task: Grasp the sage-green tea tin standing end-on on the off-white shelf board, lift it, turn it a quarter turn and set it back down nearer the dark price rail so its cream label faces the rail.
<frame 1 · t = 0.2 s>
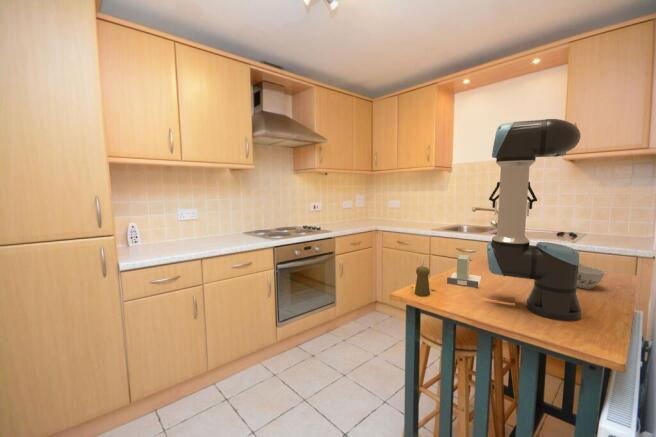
hand: (511, 215, 149), 28 cm above the table, fingers open, 13 cm apart
teacup: (582, 286, 129), on the table
tea tin: (462, 278, 136), point 1 cm above the table, touching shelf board
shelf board: (464, 282, 135), on the table
olive tapered upright piece: (422, 294, 122), on the table
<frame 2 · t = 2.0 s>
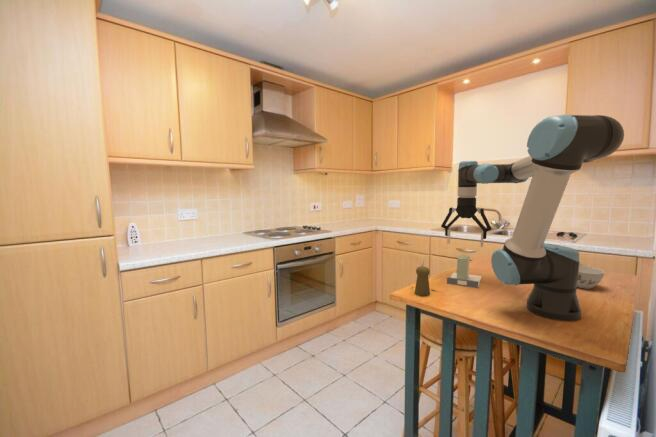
hand: (464, 244, 135), 17 cm above the table, fingers open, 13 cm apart
nothing on the table moved.
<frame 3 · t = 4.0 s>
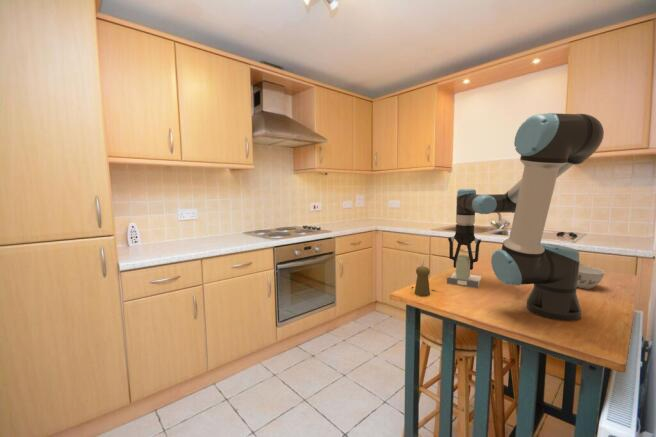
hand: (462, 275, 136), 3 cm above the table, fingers closed on tea tin, 4 cm apart
tea tin: (462, 278, 136), point 1 cm above the table, touching gripper, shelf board
everything else where it was.
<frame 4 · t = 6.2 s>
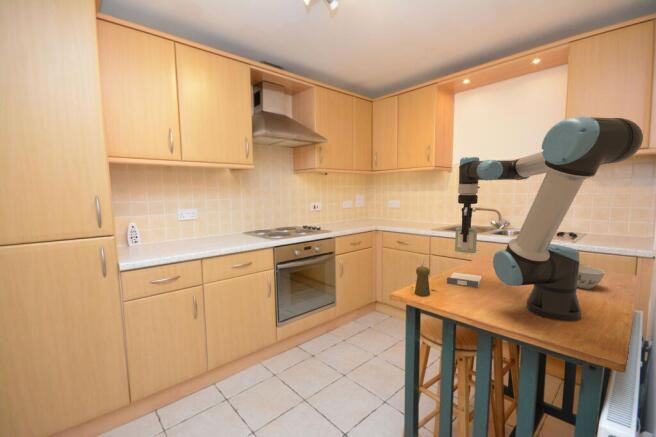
hand: (465, 248, 131), 16 cm above the table, fingers closed on tea tin, 4 cm apart
tea tin: (465, 251, 131), point 15 cm above the table, touching gripper
everything else where it was.
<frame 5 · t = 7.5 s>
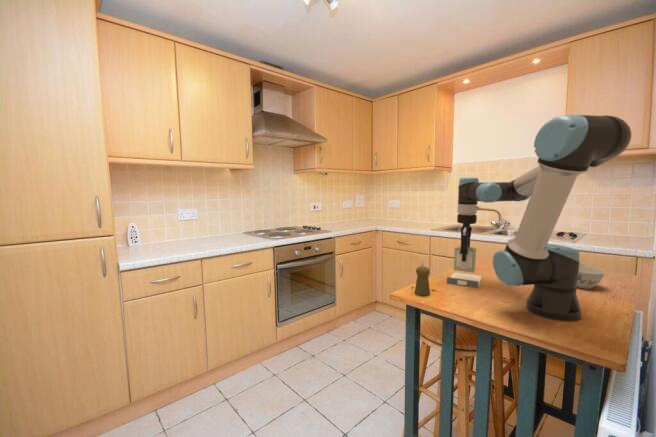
hand: (464, 266, 132), 8 cm above the table, fingers closed on tea tin, 4 cm apart
tea tin: (464, 270, 132), point 6 cm above the table, touching gripper
everything else where it was.
when the fingers open (4 cm above the table, at t = 8.4 s): tea tin drops 2 cm, resting on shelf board.
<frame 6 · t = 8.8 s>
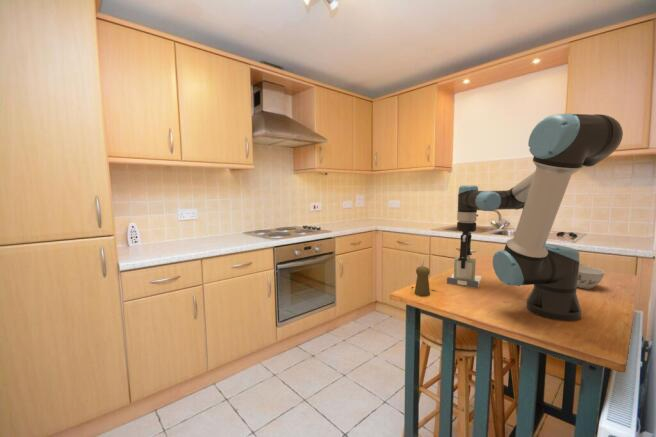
hand: (464, 272, 132), 5 cm above the table, fingers open, 9 cm apart
tea tin: (464, 281, 133), point 1 cm above the table, touching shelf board
everything else where it was.
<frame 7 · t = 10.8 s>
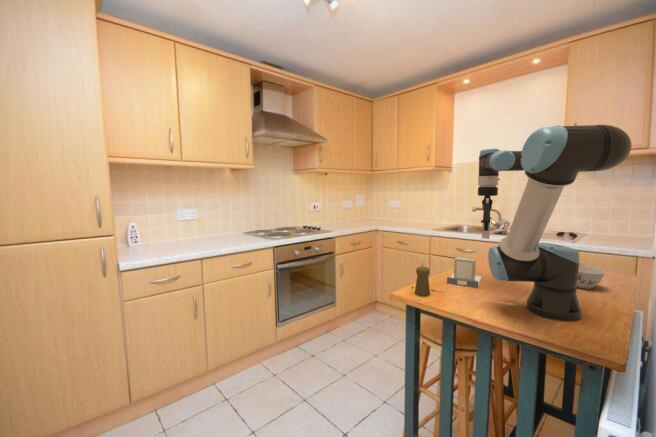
hand: (485, 236, 130), 21 cm above the table, fingers open, 13 cm apart
nothing on the table moved.
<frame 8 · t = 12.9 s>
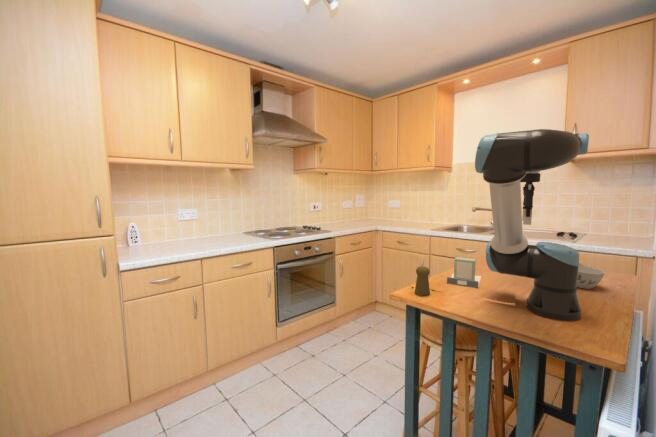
hand: (526, 222, 131), 27 cm above the table, fingers open, 13 cm apart
nothing on the table moved.
at the end: tea tin 0.1 cm from the target spot, point 1.2 cm above the table; tea tin tilted 0°; tea tin moved 3.6 cm from its start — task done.
